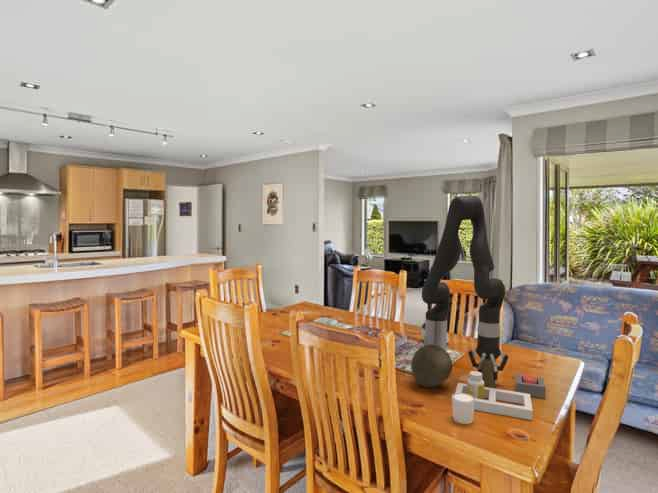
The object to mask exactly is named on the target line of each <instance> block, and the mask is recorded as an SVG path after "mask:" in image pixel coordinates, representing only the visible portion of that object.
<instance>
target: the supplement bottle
mask: <svg viewBox="0 0 658 493" xmlns="http://www.w3.org/2000/svg"><path fill="white" fill-rule="evenodd" d="M466 382H467V383H466V384H467V394H469V395H472V396H473V397H474V398H477V399H482V400H485V398H484V381H483V380H482V373H480V372H478V370H473V371H472V370H471V371H469V378H467V381H466Z"/></svg>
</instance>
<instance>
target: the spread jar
mask: <svg viewBox="0 0 658 493" xmlns="http://www.w3.org/2000/svg"><path fill="white" fill-rule="evenodd" d="M425 319H426V318H424V320H425ZM420 331H421V332H420V334H421V340H422V341H423V342H424V336H425V322H423V324H421V330H420ZM448 343H450V339H449V335H448V334H447V344H448Z"/></svg>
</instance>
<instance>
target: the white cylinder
mask: <svg viewBox="0 0 658 493" xmlns="http://www.w3.org/2000/svg"><path fill="white" fill-rule="evenodd" d="M451 402H452V403H451V404H452V406H451V407H452V416H453V421H455V422H456V423H458V422H459V424H461V423H462V425H470V424H472V423H473V422H474V413H475V410H474V406H475V398H474V397H473V396H472V395H469V394H466V393H453V394H452V395H451ZM469 423H470V424H469Z"/></svg>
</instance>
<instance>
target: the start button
mask: <svg viewBox="0 0 658 493" xmlns="http://www.w3.org/2000/svg"><path fill="white" fill-rule="evenodd" d="M535 377H536V376H535ZM535 377H533V375H528V376H523V382H526V383H533V384H537V378H535Z"/></svg>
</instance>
